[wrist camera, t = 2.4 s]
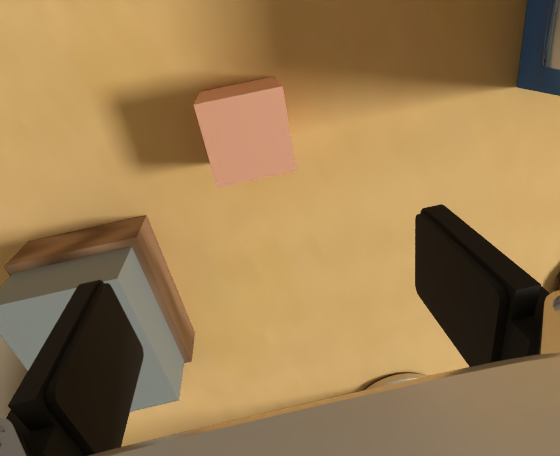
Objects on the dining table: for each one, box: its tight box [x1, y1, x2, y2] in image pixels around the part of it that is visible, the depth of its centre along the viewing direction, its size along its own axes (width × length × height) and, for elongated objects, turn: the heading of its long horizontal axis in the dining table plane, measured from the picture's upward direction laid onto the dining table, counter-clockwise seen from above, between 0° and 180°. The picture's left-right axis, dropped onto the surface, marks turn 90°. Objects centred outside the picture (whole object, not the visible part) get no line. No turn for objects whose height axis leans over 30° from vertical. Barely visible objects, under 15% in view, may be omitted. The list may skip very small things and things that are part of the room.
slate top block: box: [0, 247, 184, 412], centre depth 32 cm, size 10×14×4 cm
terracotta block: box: [194, 77, 297, 188], centre depth 28 cm, size 6×6×6 cm
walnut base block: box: [4, 215, 195, 363], centre depth 36 cm, size 11×15×4 cm
